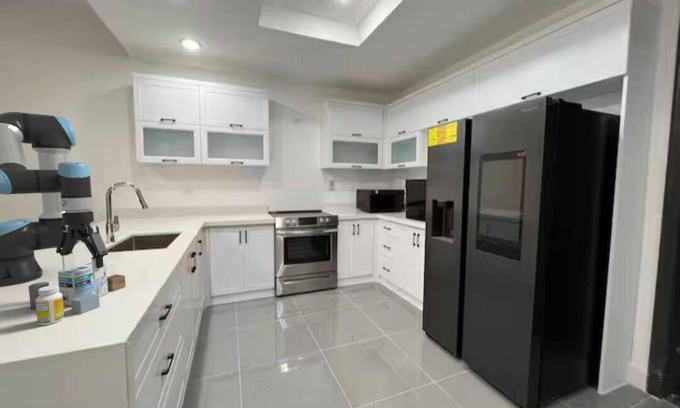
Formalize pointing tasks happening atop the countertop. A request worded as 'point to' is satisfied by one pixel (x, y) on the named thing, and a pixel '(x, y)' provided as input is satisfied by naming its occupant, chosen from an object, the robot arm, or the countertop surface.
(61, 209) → the robot arm
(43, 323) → the supplement bottle
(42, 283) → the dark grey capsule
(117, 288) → the walnut block
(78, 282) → the light bulb box
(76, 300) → the slate-blue block
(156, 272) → the countertop surface
